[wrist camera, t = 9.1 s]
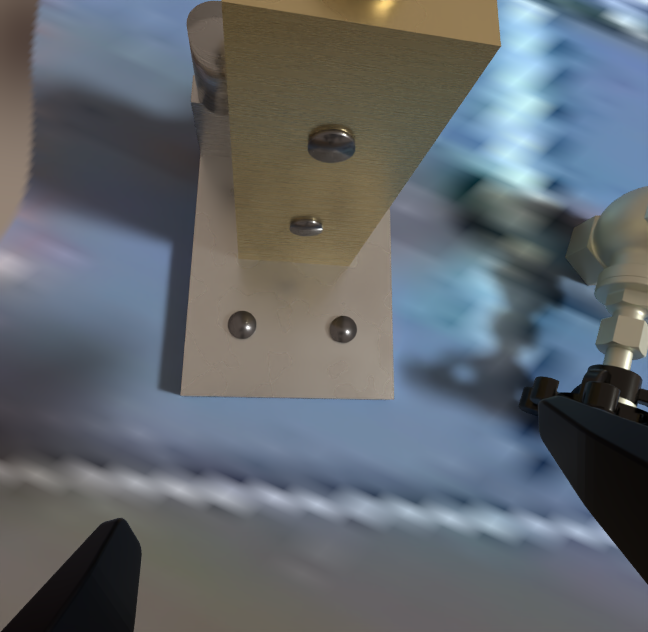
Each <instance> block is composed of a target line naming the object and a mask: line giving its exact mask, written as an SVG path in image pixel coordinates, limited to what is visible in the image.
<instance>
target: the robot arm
mask: <svg viewBox="0 0 648 632" xmlns="http://www.w3.org/2000/svg"><path fill="white" fill-rule="evenodd" d="M538 416H539V432H540V436H541V438H542V440H543V442H544V444H545V445H546V447H547V448H548V450H549V452H550V453H551V455H552V456H553V458H554V459H555V461H556V462H557V464H558V465H559V467H560V469H561V470H562V472H563V473H564V475H565V476H566V478H567V479H568V481H569V482H570V484H571V486H572V487H573V489H574V490H575V492H576V493H577V495H578V496H579V498H580V499H581V501H582V502H583V504H584V505H585V506H586V508H587V509H588V510H589V512H590V513H591V514H592V516H593V517H594V518H595V519H596V521H597V522H598V523H599V524H600V526H601V527H602V528H603V529H604V531H605V532H606V533H607V534H608V536H609V537H610V538H611V539H612V541H613V542H614V543H615V544H616V546H617V547H618V548H619V549H620V551H621V552H622V553H623V554H624V556H625V557H626V558H627V559H628V561H629V562H630V563H631V564H632V566H633V567H634V568H635V569H636V571H637V572H638V573H639V574H640V576H641V577H642V578H643V579H644V580H645V582H646V583H647V584H648V427H647V426H645V425H642V424H639V423H636V422H633V421H630V420H628V419H625V418H622V417H619V416H616V415H613V414H611V413H608V412H605V411H602V410H599V409H596V408H594V407H591V406H588V405H585V404H582V403H580V402H577V401H574V400H571V399H568V398H565V397H562V396H553V397H549V398H546V399H542V400H541V401H540V402H539V404H538ZM141 555H142V553H141V546H140V543H139V541H138V540H137V538H136V536H135V535H134V533H133V531H132V530H131V528H130V526H129V524H128V523H127V521H126V520H125V519H123V518H117V519H113V520H110V521H106V522H104V523H102V524H101V525H100V526H98V528H97V529H96V530H95V531H94V532H93V533H92V534H91V535H90V536H89V537H88V538H87V539H86V540H85V542H84V543H83V544H82V545H81V546H80V547H79V548H78V549H77V550H76V551H75V552H74V553H73V554H72V556H71V557H70V558H69V559H68V560H67V561H66V562H65V563H64V564H63V565H62V566H61V567H60V569H59V570H58V571H57V572H56V573H55V574H54V575H53V576H52V577H51V578H50V579H49V580H48V581H47V583H46V584H45V585H44V586H43V587H42V588H41V589H40V590H39V591H38V592H37V593H36V594H35V595H34V597H33V598H32V599H31V600H30V601H29V602H28V603H27V604H26V605H25V606H24V607H23V608H22V609H21V611H20V612H19V613H18V614H17V615H16V616H15V617H14V618H13V619H12V620H11V621H10V622H9V623H8V625H7V626H6V627H5V628H4V629H3V630H2V631H1V632H134V624H135V615H136V605H137V596H138V586H139V576H140V566H141Z"/></svg>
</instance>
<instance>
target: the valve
mask: <svg viewBox="0 0 648 632" xmlns="http://www.w3.org/2000/svg"><path fill="white" fill-rule="evenodd" d="M566 259H567V260H568V262H569V263H570V264H571V265H572V267H573V268H574V269H575V270H576V272H577V273H578V274H579V275H580V277H581V278H582V279H583V280H584V282H585V283H586V284H587V285H588V286H590V285H596V288H595V292H594V294H595V297H596V299H597V300H598V301H599V302H600V303H602V304H603V305H605V306H606V309H607V310H608V312H609V313H610V314H611V315H612V317H609V318H605V319H601V323H600V327H599V331H598V335H597V339H596V343H595V345H596V347H597V348H598V350H599V351H600V352H601V353H603V354H605V357H604V361H603V365H593V366H590V367H589V368H588V371H587V373H586V374H585V376H584V378H583V380H582V383H581V384H580V385H579V386H577V387H576V388H575V389H574V390H573V391H572V392H571V393H559V392H557V388H558V385H559V381H558V380H555V379H552V378H548V377H542V376H540V377H536V378H535V380H534V384H533V387H525V388H524V389H523V392H522V396H521V399H520V403H519V408H520V409H521V410H522V411H524V412H526V413H529V414H532V415H536V416H538V404H539V402H540V401H541V400H542V399H546V398H549V397H553V396H562V397H565V398H568V399H571V400H574V401H577V402H580V403H582V404H585V405H588V406H591V407H594V408H596V409H599V410H602V411H605V412H608V413H611V414H613V415H616V416H619V417H622V418H625V419H628V420H630V421H633V422H636V423H639V424H642V425H645V426H647V427H648V412H646V411H643V410H641V409H638V408H637V404H642V405H645V406H647V407H648V390H645V389H641V385H642V378H641V377H640V376H639V375H638V374H636V373H634V372H632V371H630V367H631V363H632V360H637V359H641V358H644V357H646V354H647V349H648V325H647V323H646V322H645V321H644V320H645V319H648V186H646V187H642V188H638V189H636V190H633V191H630V192H628V193H626V194H624V195H622V196H621V197H619V198H618V199H616V200H615V201H614V202H612V203H611V204H610V205H609V206H608V207H607V208H606V209H605V210H604V211H603V213H602V214H601V216H594V217H592V218H590V219H588V220H587V221H585V222H583V223H581V224H580V225H578V226H576V227H574V229H573V232H572V235H571V239H570V242H569V246H568V249H567V253H566Z"/></svg>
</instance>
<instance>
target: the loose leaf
mask: <svg viewBox="0 0 648 632" xmlns="http://www.w3.org/2000/svg"><path fill="white" fill-rule="evenodd" d="M221 2H222V17H223V32H224V47H225V62H226V77H227V92H228V107H229V123H230V138H231V153H232V168H233V183H234V198H235V213H236V229H237V244H238V259H250V260H265V261H279V262H294V263H309V264H324V265H338V266H349V265H350V264H351V263H352V261H353V260H354V258H355V257H356V255H357V254H358V252H359V251H360V250H361V248H362V247H363V245H364V244H365V242H366V241H367V239H368V238H369V236H370V235H371V234H372V232H373V231H374V229H375V228H376V226H377V225H378V223H379V222H380V221H381V219H382V218H383V216H384V215H385V213H386V212H387V210H388V209H389V207H390V206H391V205H392V203H393V202H394V200H395V199H396V197H397V196H398V194H399V193H400V192H401V190H402V189H403V187H404V186H405V184H406V183H407V181H408V180H409V179H410V177H411V176H412V174H413V173H414V171H415V170H416V168H417V167H418V165H419V164H420V163H421V161H422V160H423V158H424V157H425V155H426V154H427V152H428V151H429V150H430V148H431V147H432V145H433V144H434V142H435V141H436V139H437V138H438V136H439V135H440V134H441V132H442V131H443V129H444V128H445V126H446V125H447V123H448V122H449V121H450V119H451V118H452V116H453V115H454V113H455V112H456V110H457V109H458V107H459V106H460V105H461V103H462V102H463V100H464V99H465V97H466V96H467V94H468V93H469V92H470V90H471V89H472V87H473V86H474V84H475V83H476V81H477V80H478V79H479V77H480V76H481V74H482V73H483V71H484V70H485V68H486V67H487V65H488V64H489V63H490V61H491V60H492V58H493V57H494V55H495V54H496V52H497V51H498V50H499V48H500V47H501V42H500V31H499V20H498V9H497V0H222V1H221Z"/></svg>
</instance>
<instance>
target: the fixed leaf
mask: <svg viewBox="0 0 648 632" xmlns="http://www.w3.org/2000/svg"><path fill="white" fill-rule="evenodd" d="M187 31H188V37H189V43H190V50H191V56H192V62H193V68H194V74H195V75H193V84H192V95H191V106H192V111H193V116H194V122H195V127H196V133H197V138H198V143H199V149H200V154H201V155H200V167H199V179H198V191H197V203H196V215H195V227H194V239H193V251H192V263H191V275H190V287H189V299H188V311H187V323H186V335H185V347H184V359H183V371H182V383H181V395H180V396H192V397H247V398H302V399H357V400H394V377H393V332H392V286H391V240H390V207H389V209H388V210H387V212H386V213H385V215H384V216H383V218H382V219H381V221H380V222H379V223H378V225H377V226H376V228H375V229H374V231H373V232H372V234H371V235H370V236H369V238H368V239H367V241H366V242H365V244H364V245H363V247H362V248H361V250H360V251H359V252H358V254H357V255H356V257H355V258H354V260H353V261H352V263H351V264H350V265H349V266H338V265H324V264H309V263H294V262H279V261H265V260H250V259H238V244H237V229H236V213H235V198H234V183H233V168H232V153H231V138H230V123H229V107H228V92H227V77H226V62H225V47H224V32H223V17H222V2H221V1H208V2H204V3H201V4H199V5H197V6H196V7H195V8H194V9H193V10H192V11H191V12H190V14H189V15H188V18H187Z"/></svg>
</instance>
